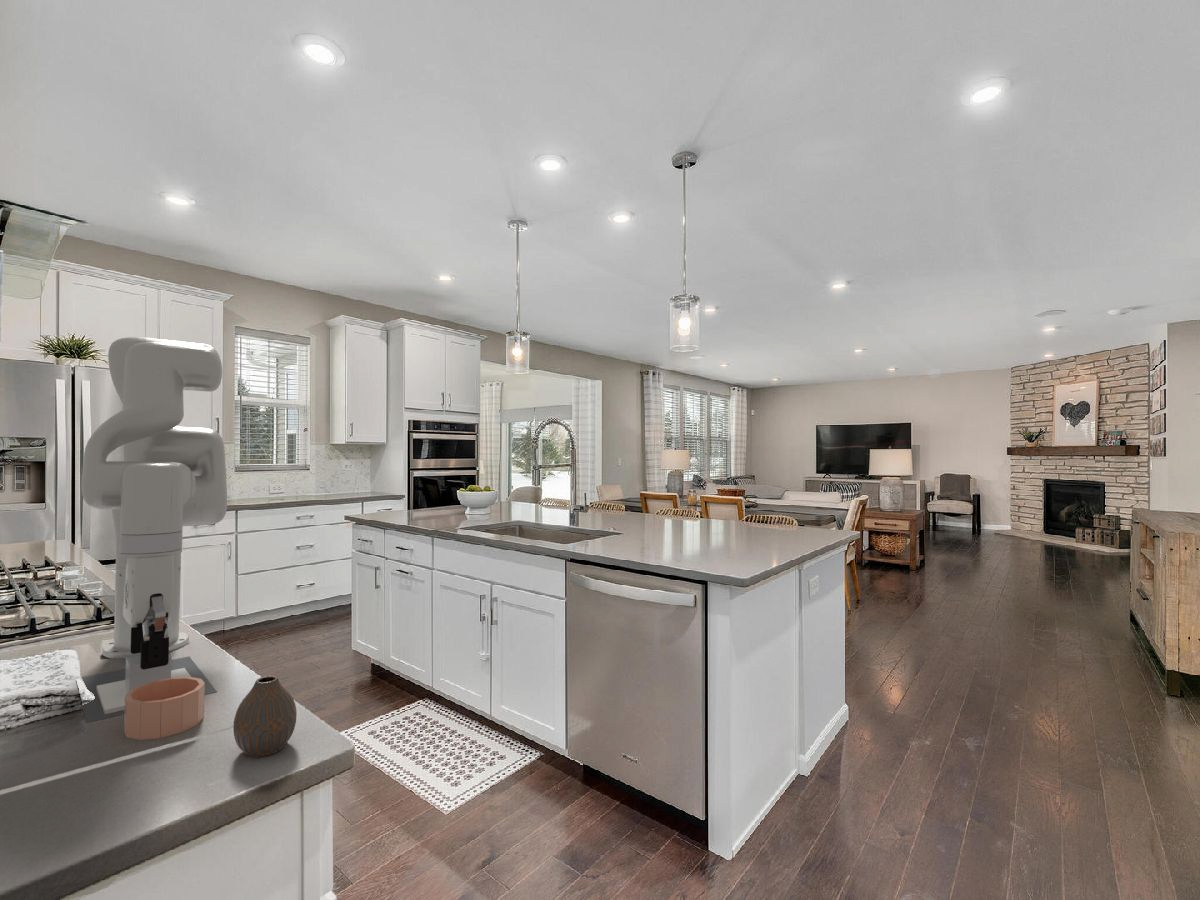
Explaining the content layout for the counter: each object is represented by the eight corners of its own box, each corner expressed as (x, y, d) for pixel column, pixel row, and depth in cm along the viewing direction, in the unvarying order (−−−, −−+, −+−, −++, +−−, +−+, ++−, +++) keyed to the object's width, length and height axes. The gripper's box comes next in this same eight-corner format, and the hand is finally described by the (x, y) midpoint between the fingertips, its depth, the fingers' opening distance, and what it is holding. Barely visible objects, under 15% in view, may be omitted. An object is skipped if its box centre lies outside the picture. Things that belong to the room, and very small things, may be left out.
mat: (75, 680, 92) (75, 678, 92) (189, 658, 103) (189, 656, 103) (86, 725, 78) (86, 722, 78) (217, 694, 89) (217, 691, 89)
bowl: (120, 725, 79) (121, 688, 79) (195, 706, 85) (196, 672, 85) (129, 749, 73) (130, 708, 73) (209, 727, 79) (210, 690, 79)
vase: (267, 766, 70) (269, 693, 70) (218, 759, 71) (220, 687, 71) (307, 738, 76) (309, 671, 76) (262, 732, 78) (264, 666, 78)
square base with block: (96, 689, 89) (97, 656, 89) (184, 671, 96) (185, 640, 96) (104, 714, 81) (105, 677, 81) (199, 692, 89) (200, 658, 89)
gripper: (112, 541, 92) (109, 651, 91) (128, 553, 80) (124, 680, 79) (171, 537, 97) (168, 641, 97) (194, 548, 85) (191, 667, 84)
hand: (148, 659), depth 88 cm, fingers open, 9 cm apart
